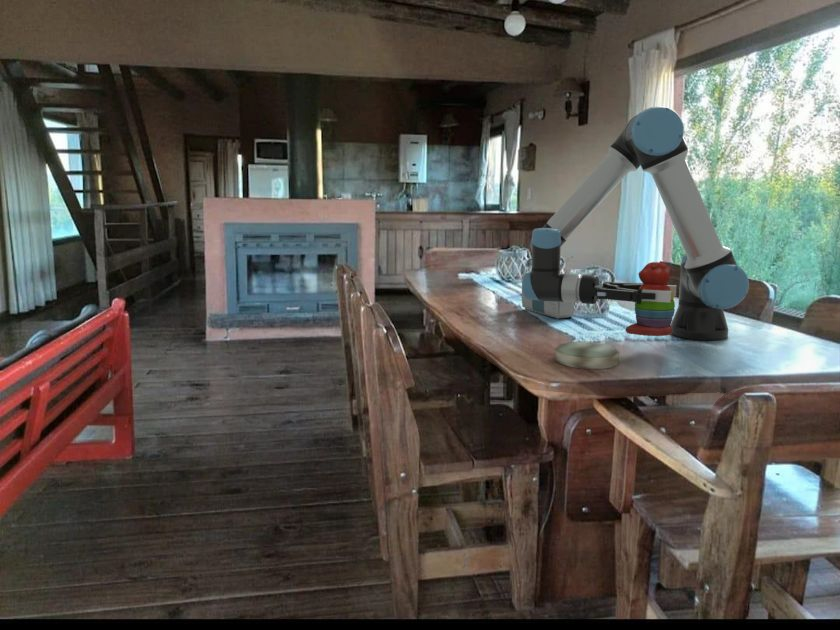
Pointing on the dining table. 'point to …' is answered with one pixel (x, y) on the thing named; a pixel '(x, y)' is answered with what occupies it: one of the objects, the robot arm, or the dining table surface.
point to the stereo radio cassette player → (549, 306)
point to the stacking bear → (654, 303)
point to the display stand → (587, 355)
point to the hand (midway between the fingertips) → (673, 293)
